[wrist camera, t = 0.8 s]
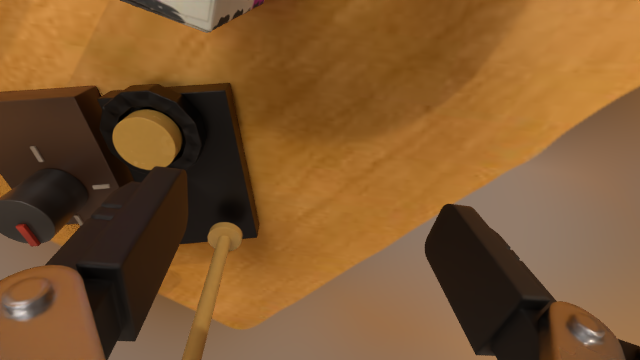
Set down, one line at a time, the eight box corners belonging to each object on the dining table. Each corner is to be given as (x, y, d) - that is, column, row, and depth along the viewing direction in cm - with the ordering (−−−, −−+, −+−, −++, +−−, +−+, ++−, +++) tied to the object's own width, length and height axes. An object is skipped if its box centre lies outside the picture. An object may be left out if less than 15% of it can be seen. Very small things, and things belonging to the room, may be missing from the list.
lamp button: (113, 110, 23) (101, 119, 21) (172, 106, 23) (164, 115, 21) (136, 161, 25) (126, 172, 24) (189, 157, 25) (182, 168, 24)
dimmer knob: (19, 170, 25) (-32, 205, 21) (73, 166, 25) (31, 200, 21) (48, 211, 28) (6, 249, 24) (96, 207, 28) (63, 244, 24)
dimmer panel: (-20, 93, 25) (-58, 105, 22) (95, 85, 25) (72, 97, 22) (58, 210, 31) (36, 230, 29) (148, 202, 32) (135, 222, 29)
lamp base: (106, 80, 25) (77, 95, 21) (228, 72, 25) (217, 85, 22) (171, 231, 34) (157, 258, 31) (259, 224, 34) (255, 249, 31)
